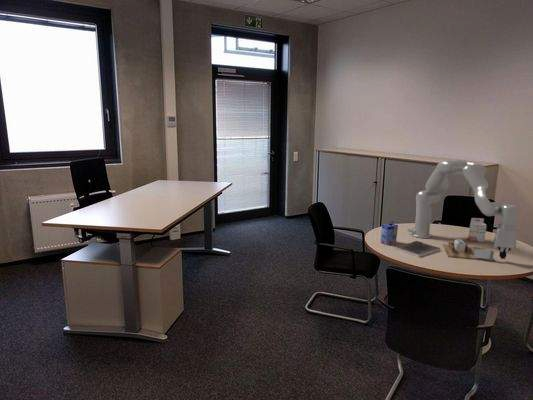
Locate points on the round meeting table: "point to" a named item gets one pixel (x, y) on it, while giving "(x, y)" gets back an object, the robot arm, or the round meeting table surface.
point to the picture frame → (417, 249)
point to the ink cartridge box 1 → (389, 233)
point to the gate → (483, 254)
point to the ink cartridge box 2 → (477, 230)
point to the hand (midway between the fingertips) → (502, 258)
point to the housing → (466, 254)
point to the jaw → (459, 245)
